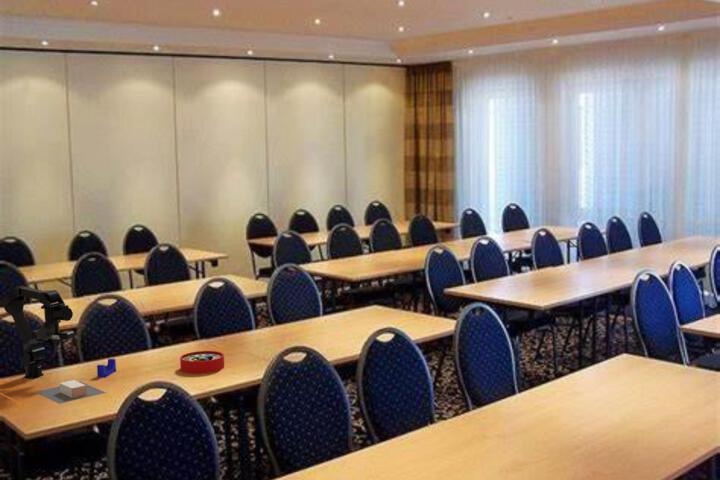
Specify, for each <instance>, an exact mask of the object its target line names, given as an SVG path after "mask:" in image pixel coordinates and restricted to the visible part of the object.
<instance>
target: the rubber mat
mask: <svg viewBox="0 0 720 480" xmlns="http://www.w3.org/2000/svg"><path fill="white" fill-rule="evenodd" d="M78 382H79V383H82V384H84V385H87V395H85V396H80V397H76V398H72V397H69V396H67V395H65V394H63V393H61V392H60V385H59V386H54V387H50V388H46V389H42V390H36V391H35V393H36V394H38V395H40V396H42V397H44V398H47V399H49V400H51V401H53V402H55V403H57V404H59V405H60V404H64V403H68V402H72V401H77V400H80V399H85V398H90V397H93V396H98V395H102V394H106V393H107V392H106V391H104V390H101V389H99V388H96V387H95V386H91V385H89V384H87V383H85V382H83V381H78Z"/></svg>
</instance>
